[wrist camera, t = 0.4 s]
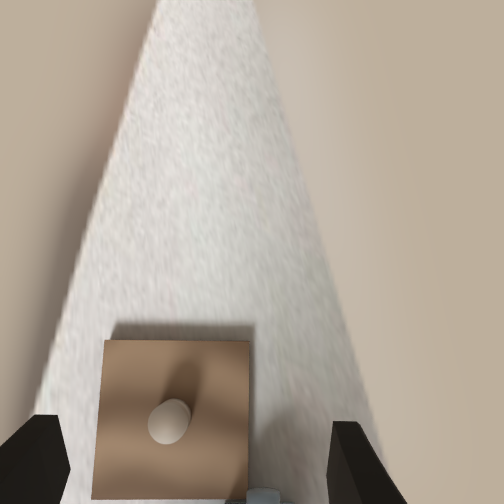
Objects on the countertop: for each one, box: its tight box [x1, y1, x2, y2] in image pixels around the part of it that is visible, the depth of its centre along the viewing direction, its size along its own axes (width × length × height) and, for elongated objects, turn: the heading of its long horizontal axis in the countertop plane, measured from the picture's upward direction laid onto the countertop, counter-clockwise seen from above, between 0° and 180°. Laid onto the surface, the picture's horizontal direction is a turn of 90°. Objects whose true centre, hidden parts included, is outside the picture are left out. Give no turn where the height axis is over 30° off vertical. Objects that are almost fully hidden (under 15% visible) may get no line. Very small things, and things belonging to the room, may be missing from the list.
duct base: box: [91, 340, 249, 500], centre depth 34 cm, size 12×12×5 cm
